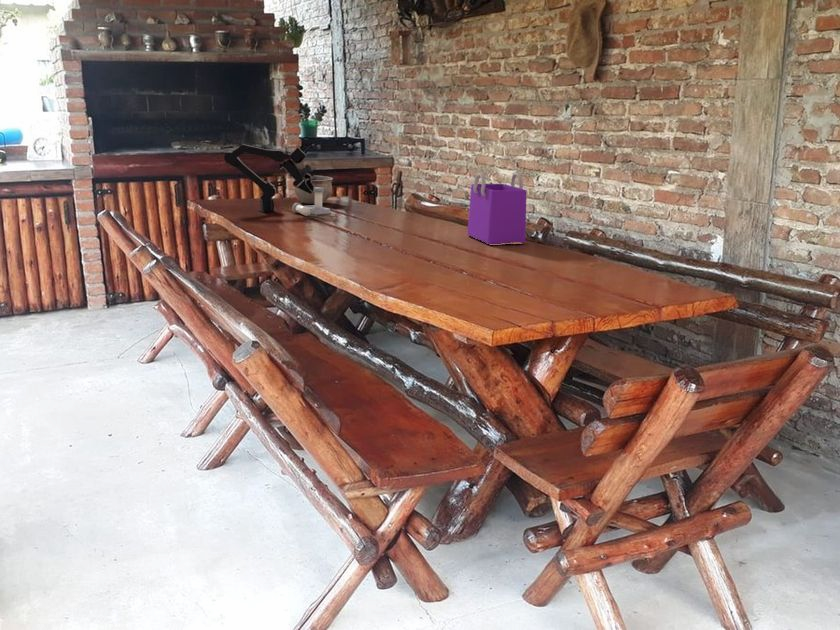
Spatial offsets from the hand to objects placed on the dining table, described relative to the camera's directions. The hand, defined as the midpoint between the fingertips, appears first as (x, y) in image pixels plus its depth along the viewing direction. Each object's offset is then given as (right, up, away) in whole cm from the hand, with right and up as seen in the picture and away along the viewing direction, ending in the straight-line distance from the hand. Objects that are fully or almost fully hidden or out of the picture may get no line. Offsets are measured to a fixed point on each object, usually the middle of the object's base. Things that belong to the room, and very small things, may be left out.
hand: (313, 192), depth 431 cm
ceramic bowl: (-5, -1, +39) cm, 39 cm away
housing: (0, -10, +5) cm, 11 cm away
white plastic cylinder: (-7, -12, -5) cm, 15 cm away
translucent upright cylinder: (+2, -10, +3) cm, 10 cm away
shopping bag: (+89, -31, -65) cm, 115 cm away
